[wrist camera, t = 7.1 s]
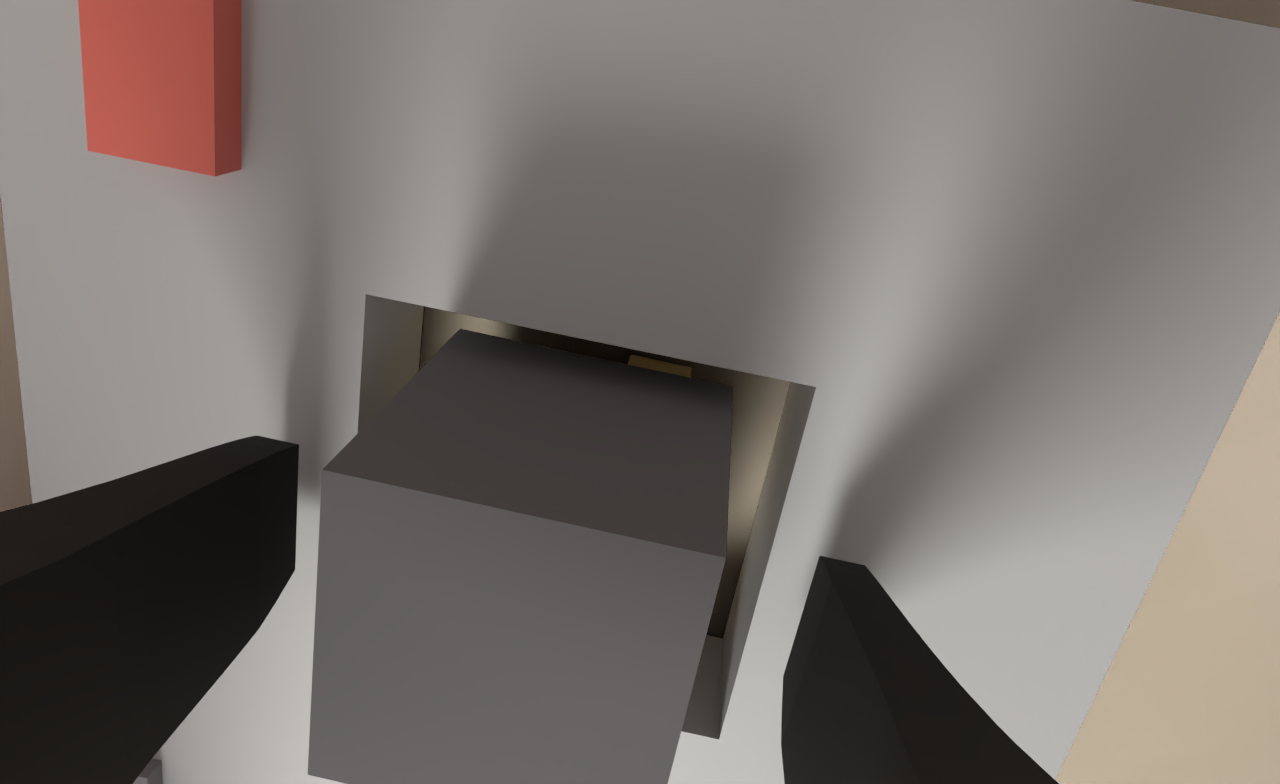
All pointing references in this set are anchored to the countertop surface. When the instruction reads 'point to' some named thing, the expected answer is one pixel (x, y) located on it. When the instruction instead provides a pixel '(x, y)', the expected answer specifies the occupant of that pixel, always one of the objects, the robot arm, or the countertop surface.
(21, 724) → the robot arm
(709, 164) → the socket plate
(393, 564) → the plug
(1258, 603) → the countertop surface
